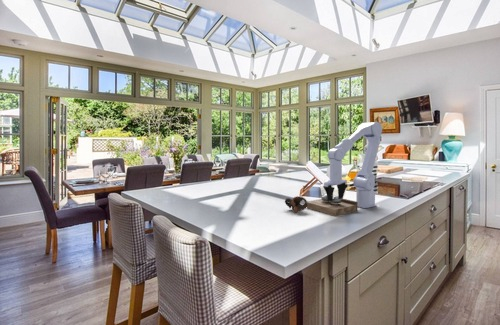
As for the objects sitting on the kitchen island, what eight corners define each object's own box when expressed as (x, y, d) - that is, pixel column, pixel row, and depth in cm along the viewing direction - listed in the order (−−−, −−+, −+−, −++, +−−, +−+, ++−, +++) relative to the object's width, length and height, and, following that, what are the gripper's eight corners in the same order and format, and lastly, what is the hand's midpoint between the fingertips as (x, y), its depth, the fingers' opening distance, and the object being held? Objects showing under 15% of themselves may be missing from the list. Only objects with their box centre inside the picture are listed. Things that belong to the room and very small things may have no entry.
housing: (327, 202, 163) (327, 195, 162) (357, 210, 146) (357, 201, 145) (305, 207, 154) (305, 199, 154) (335, 215, 137) (335, 206, 137)
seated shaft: (326, 206, 156) (326, 193, 155) (333, 208, 152) (333, 194, 151) (319, 207, 153) (319, 194, 153) (326, 209, 149) (326, 196, 148)
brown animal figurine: (308, 209, 152) (310, 197, 147) (303, 221, 145) (305, 210, 140) (286, 202, 156) (288, 190, 151) (280, 213, 149) (281, 202, 144)
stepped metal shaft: (335, 208, 151) (336, 195, 150) (343, 210, 146) (343, 197, 146) (327, 209, 149) (328, 196, 148) (335, 212, 144) (335, 198, 143)
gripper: (339, 170, 153) (339, 195, 154) (319, 173, 145) (319, 199, 147) (350, 171, 147) (350, 198, 148) (330, 174, 139) (330, 202, 141)
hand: (335, 199), depth 147 cm, fingers open, 7 cm apart
